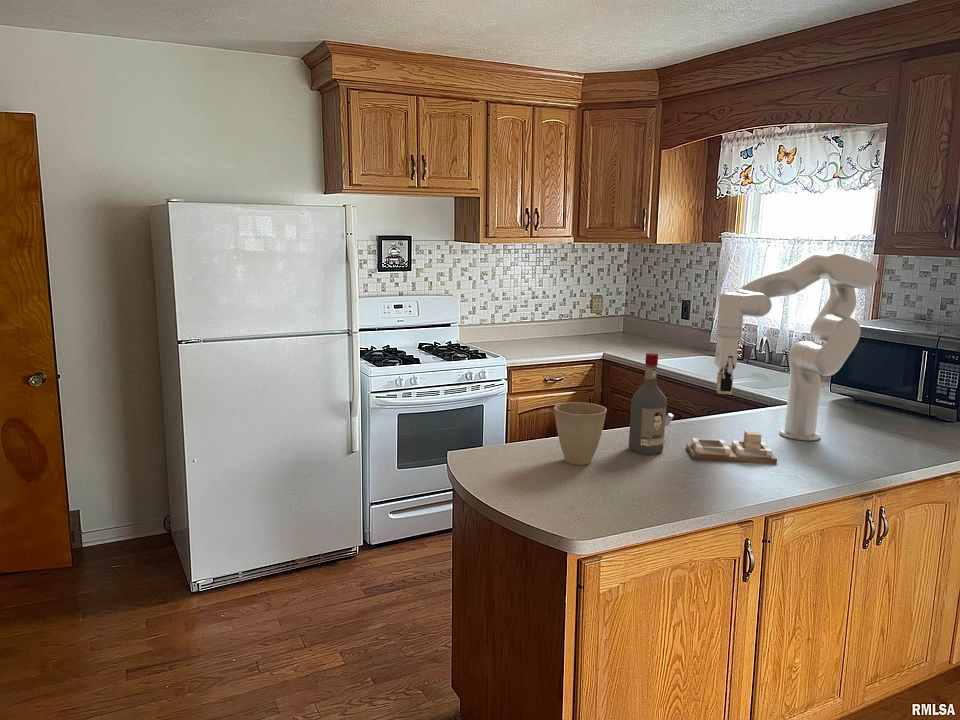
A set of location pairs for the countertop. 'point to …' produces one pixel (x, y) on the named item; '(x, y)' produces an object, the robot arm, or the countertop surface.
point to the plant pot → (579, 430)
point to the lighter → (668, 420)
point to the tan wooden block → (719, 376)
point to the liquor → (648, 413)
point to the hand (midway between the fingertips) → (724, 388)
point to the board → (732, 449)
